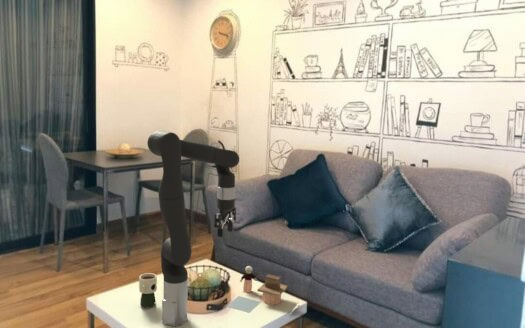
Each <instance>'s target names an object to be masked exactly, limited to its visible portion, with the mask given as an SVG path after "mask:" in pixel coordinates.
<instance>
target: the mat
mask: <svg viewBox="0 0 525 328" xmlns="http://www.w3.org/2000/svg"><path fill="white" fill-rule="evenodd" d="M260 303H261V301H260V300H256V299H251V298H249V297H244V296H239V295H238V296H237V297H236V298H235V299H233V300H232V301H231V302H229V303H228V304H227V305H226V308H227V307H228V308H231V309H234V310H238V311H242V312H246V313H249V314H250V313H251V312H252V311H253V310H254V309H255V308H257V306H259V304H260Z"/></svg>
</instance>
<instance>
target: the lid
mask: <svg viewBox="0 0 525 328" xmlns="http://www.w3.org/2000/svg"><path fill="white" fill-rule="evenodd" d="M264 280H265V282H264V283H263V284H262V285H261V286H259V287H258V288H257V292H259V293H262V294H263V293H267V294H271V295H275V296H280V295H281V296H282V294H283V293H284V292H285V291H286V290H287V289H289V286H288V285H286V284H282V283H281V282H282V281H281V280H282V277H281V276H278V275H274V274H267V275H266V276H265V279H264Z"/></svg>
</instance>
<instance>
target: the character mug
mask: <svg viewBox="0 0 525 328" xmlns="http://www.w3.org/2000/svg"><path fill="white" fill-rule="evenodd" d="M157 277H158V276H157V274H155V273H150V272H147V273H146V272H145V273H143V274H140V275H139V277H138V288H139V289H138V291H139V293H141V295H140V307H142V308H148V309H150V308H153V307H154V306H156V305H157V301H156V296H155V295H156V294H155V292H156V291H157V289H158V286H157V284H158V282H157V281H158V280H157Z"/></svg>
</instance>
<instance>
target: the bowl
mask: <svg viewBox="0 0 525 328" xmlns="http://www.w3.org/2000/svg"><path fill="white" fill-rule="evenodd" d="M261 297H262V300H261V301H262V302H263V303H264V304H265V305H266V304H267V305H269V306H270V305H271V306H272V305H278V304H280V303H281V302H282V294H281V295H280V296H275V295H271V294H267V293H263V292H262V296H261Z"/></svg>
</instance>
